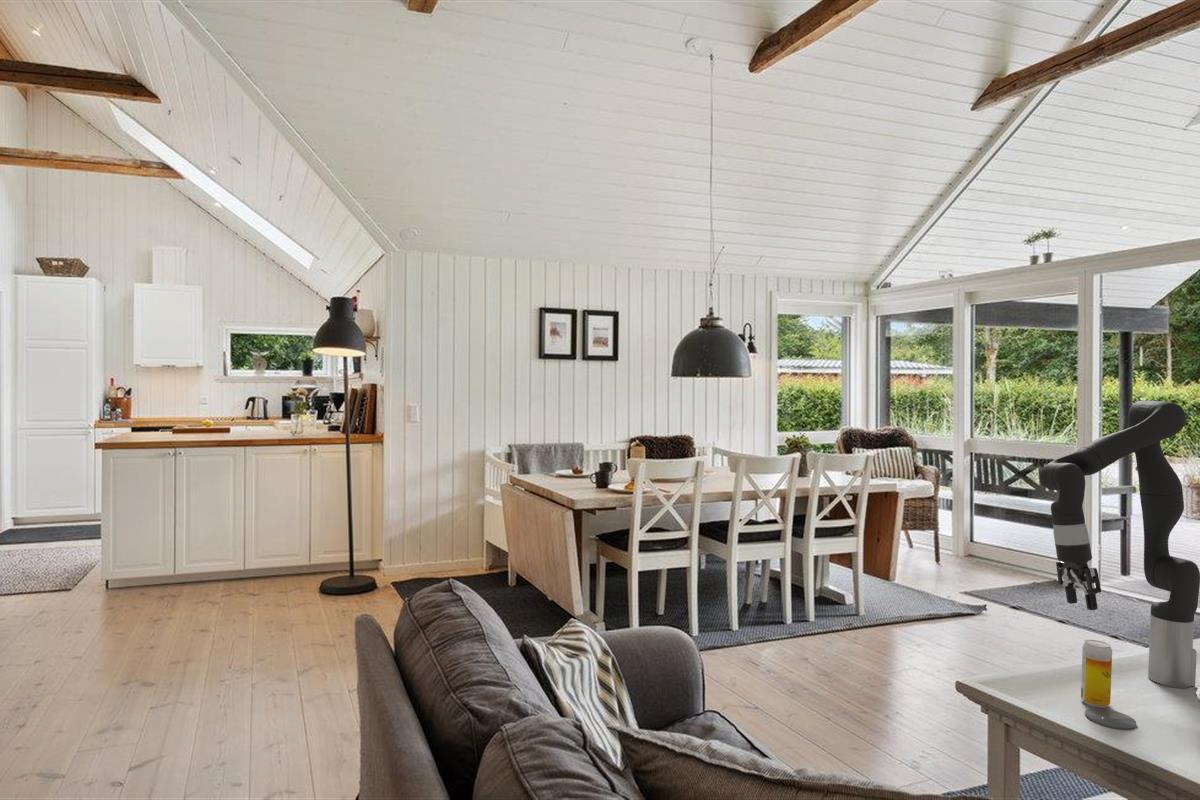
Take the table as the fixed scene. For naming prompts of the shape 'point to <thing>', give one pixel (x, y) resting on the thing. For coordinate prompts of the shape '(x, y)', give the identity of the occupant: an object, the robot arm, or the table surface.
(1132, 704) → the table surface
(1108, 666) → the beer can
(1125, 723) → the slate coaster
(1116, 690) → the table surface
